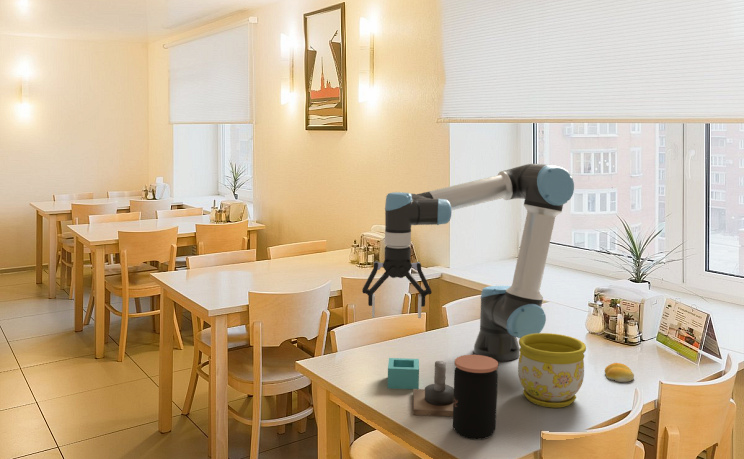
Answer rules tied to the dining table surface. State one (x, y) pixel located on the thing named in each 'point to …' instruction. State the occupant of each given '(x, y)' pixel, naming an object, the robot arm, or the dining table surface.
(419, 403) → the post stand
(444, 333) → the dining table surface
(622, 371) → the bread roll
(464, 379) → the coffee jar
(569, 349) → the flowerpot
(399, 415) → the dining table surface
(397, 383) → the collar
